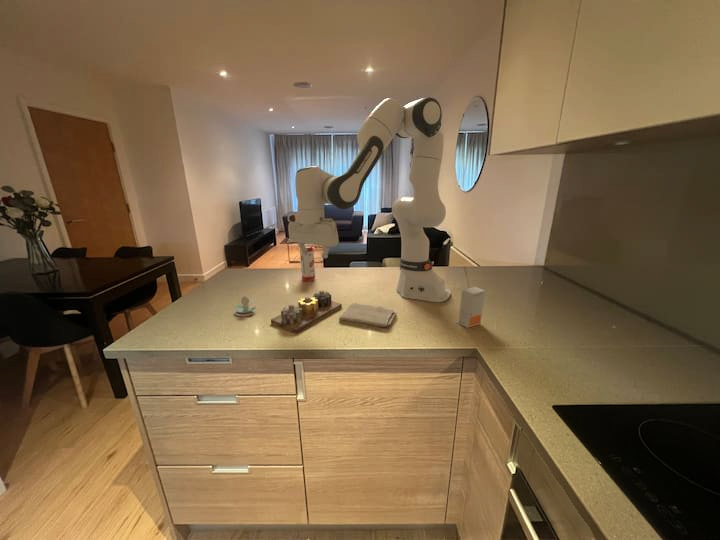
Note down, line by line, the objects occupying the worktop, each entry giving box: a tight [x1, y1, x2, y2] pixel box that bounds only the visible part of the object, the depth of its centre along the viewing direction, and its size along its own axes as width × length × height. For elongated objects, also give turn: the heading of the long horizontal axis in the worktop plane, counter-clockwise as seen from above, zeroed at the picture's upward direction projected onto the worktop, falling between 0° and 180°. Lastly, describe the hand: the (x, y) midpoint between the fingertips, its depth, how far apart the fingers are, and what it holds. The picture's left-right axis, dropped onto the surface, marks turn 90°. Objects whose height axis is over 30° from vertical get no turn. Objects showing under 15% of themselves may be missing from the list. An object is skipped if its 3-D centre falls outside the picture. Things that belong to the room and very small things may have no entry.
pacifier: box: [234, 295, 257, 318], centre depth 103 cm, size 7×6×6 cm
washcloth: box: [338, 303, 397, 331], centre depth 99 cm, size 12×18×3 cm, turn 71°
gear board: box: [270, 290, 343, 335], centre depth 102 cm, size 12×23×6 cm, turn 146°
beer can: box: [299, 245, 316, 282], centre depth 137 cm, size 6×6×16 cm
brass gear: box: [297, 296, 318, 316], centre depth 102 cm, size 7×7×4 cm
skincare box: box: [457, 286, 486, 329], centre depth 94 cm, size 6×4×12 cm
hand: (314, 256), depth 102 cm, fingers open, 8 cm apart
